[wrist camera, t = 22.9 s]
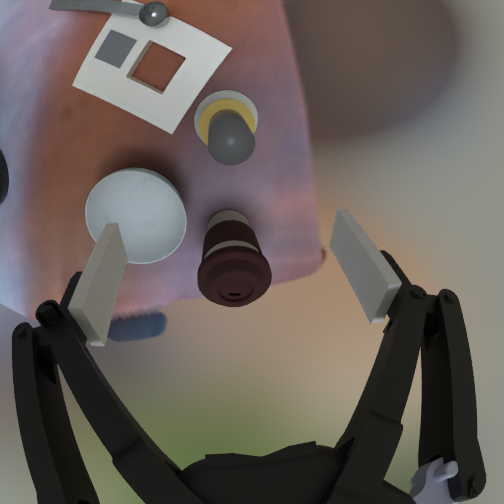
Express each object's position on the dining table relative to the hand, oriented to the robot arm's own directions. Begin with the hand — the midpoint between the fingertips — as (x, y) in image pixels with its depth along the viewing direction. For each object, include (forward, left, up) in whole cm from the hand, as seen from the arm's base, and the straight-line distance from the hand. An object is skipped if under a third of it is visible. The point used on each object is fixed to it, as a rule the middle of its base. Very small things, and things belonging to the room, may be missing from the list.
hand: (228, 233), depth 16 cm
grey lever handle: (-23, +9, -22) cm, 33 cm away
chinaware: (-5, -15, -27) cm, 31 cm away
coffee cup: (+10, -13, -27) cm, 32 cm away
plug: (0, +2, -26) cm, 26 cm away
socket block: (-14, +4, -27) cm, 30 cm away
